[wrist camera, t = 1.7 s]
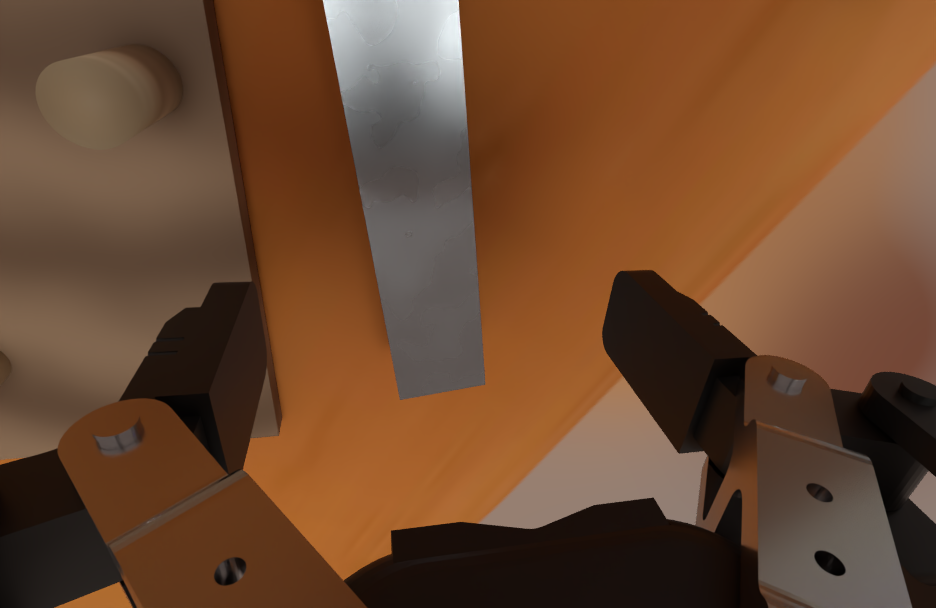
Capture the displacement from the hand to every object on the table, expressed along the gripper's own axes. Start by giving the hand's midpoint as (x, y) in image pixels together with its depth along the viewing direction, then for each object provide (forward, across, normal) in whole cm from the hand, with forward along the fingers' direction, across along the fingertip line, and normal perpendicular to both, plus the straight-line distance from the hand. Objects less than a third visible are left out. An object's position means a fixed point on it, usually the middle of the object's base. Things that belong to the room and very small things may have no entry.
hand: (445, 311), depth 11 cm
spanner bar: (+10, 0, 0) cm, 10 cm away
